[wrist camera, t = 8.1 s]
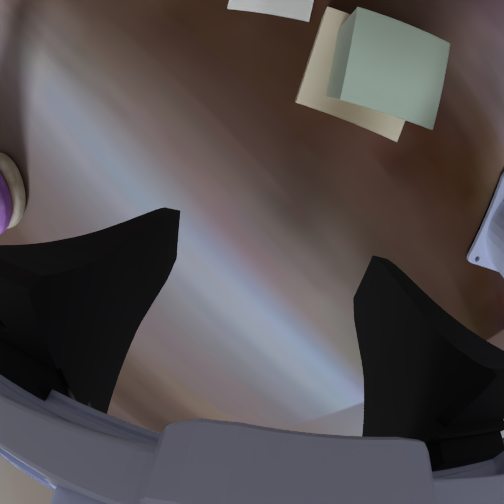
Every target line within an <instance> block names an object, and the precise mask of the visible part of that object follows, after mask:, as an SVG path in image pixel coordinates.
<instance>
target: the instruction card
mask: <svg viewBox="0 0 504 504" xmlns="http://www.w3.org/2000/svg"><path fill="white" fill-rule="evenodd" d="M313 2H314V0H229V3H228V8H227V9H233V10H242V11H250V12H258V13H264V14H271V15H277V16H282V17H287V18H293V19H297V20H302V21H306V22H309V20H310V15H311V11H312V6H313Z"/></svg>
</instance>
